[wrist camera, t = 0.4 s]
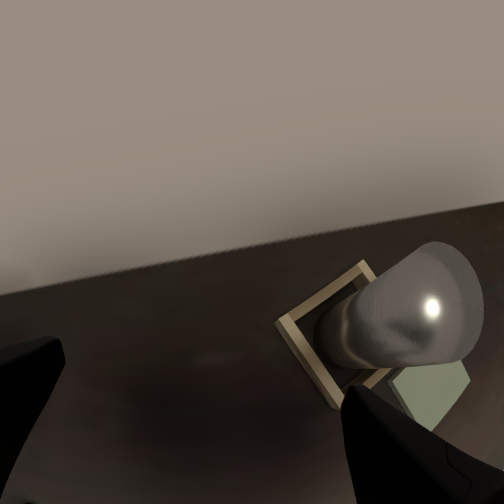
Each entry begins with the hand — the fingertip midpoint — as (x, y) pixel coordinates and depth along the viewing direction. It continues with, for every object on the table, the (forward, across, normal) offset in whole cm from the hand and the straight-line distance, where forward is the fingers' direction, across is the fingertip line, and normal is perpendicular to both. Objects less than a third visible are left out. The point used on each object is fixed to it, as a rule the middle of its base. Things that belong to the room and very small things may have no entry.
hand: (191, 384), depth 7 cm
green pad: (+11, -20, +9) cm, 25 cm away
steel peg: (+14, -10, +6) cm, 18 cm away
